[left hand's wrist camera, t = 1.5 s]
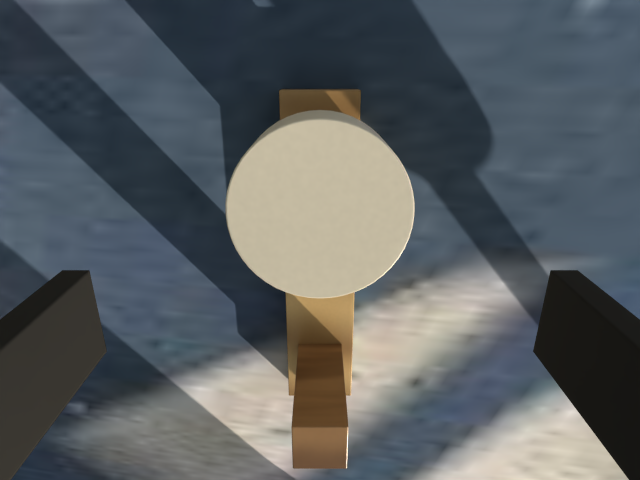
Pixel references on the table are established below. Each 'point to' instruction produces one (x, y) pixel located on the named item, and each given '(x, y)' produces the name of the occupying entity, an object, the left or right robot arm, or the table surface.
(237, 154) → the table surface
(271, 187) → the cap
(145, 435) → the table surface
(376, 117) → the table surface
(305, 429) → the canister stand
